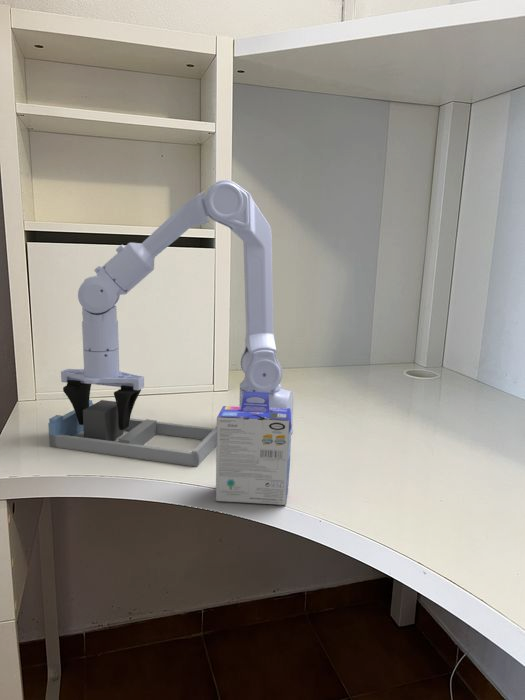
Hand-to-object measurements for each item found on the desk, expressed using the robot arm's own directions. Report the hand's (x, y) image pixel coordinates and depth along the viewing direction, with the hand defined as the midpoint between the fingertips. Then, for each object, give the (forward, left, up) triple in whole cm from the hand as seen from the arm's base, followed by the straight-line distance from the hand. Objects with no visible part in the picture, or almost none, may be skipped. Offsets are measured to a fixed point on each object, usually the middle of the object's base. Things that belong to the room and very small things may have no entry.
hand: (103, 425), depth 94 cm
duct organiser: (-6, 0, -2) cm, 7 cm away
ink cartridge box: (-30, +12, -3) cm, 32 cm away
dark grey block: (0, 0, -2) cm, 3 cm away
